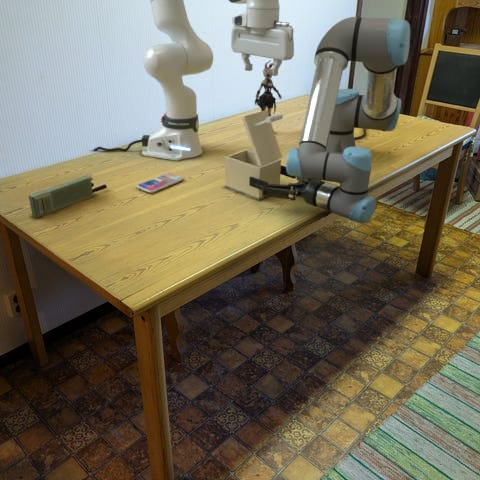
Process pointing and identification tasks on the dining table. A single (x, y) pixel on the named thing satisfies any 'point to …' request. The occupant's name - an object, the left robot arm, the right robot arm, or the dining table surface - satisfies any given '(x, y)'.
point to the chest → (249, 173)
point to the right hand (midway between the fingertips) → (264, 174)
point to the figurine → (267, 92)
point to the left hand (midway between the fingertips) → (260, 72)
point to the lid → (263, 136)
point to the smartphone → (159, 182)
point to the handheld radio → (62, 195)
